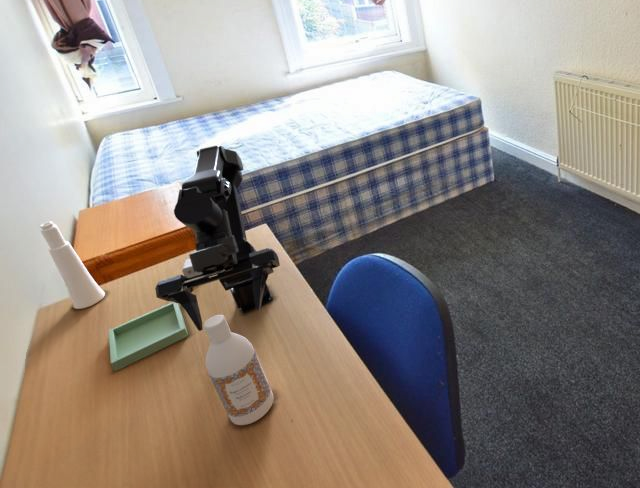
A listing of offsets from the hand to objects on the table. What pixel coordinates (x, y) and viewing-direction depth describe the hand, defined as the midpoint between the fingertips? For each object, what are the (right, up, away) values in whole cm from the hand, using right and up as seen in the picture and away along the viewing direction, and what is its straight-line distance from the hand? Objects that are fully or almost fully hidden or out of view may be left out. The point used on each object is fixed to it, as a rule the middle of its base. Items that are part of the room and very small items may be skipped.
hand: (230, 320), depth 83 cm
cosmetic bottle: (-53, -7, +31) cm, 62 cm away
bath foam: (+5, -15, -1) cm, 16 cm away
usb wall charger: (-31, -2, +38) cm, 49 cm away
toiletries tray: (-28, -10, +17) cm, 34 cm away
